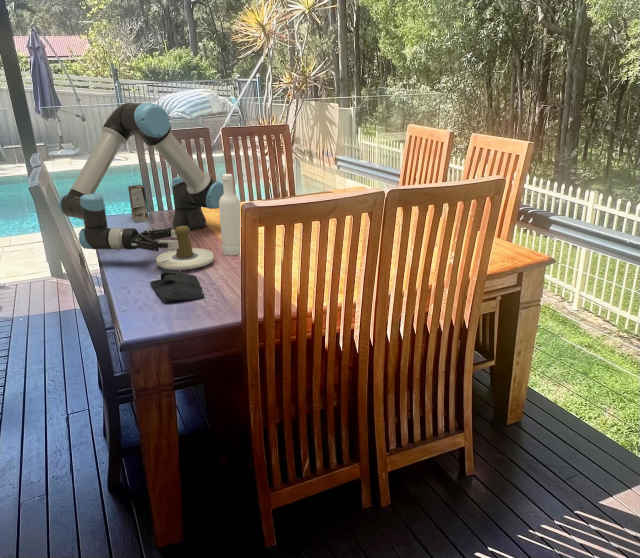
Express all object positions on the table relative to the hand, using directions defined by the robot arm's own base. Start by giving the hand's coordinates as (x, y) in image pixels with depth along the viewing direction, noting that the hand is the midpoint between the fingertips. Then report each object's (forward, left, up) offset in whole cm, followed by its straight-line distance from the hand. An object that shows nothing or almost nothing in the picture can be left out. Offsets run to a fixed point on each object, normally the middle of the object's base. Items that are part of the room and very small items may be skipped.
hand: (183, 239), depth 186 cm
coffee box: (-19, -73, -10) cm, 76 cm away
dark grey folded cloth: (+15, +20, -10) cm, 27 cm away
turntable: (0, 0, -8) cm, 8 cm away
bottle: (-20, +1, -10) cm, 22 cm away
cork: (0, 0, -7) cm, 7 cm away
